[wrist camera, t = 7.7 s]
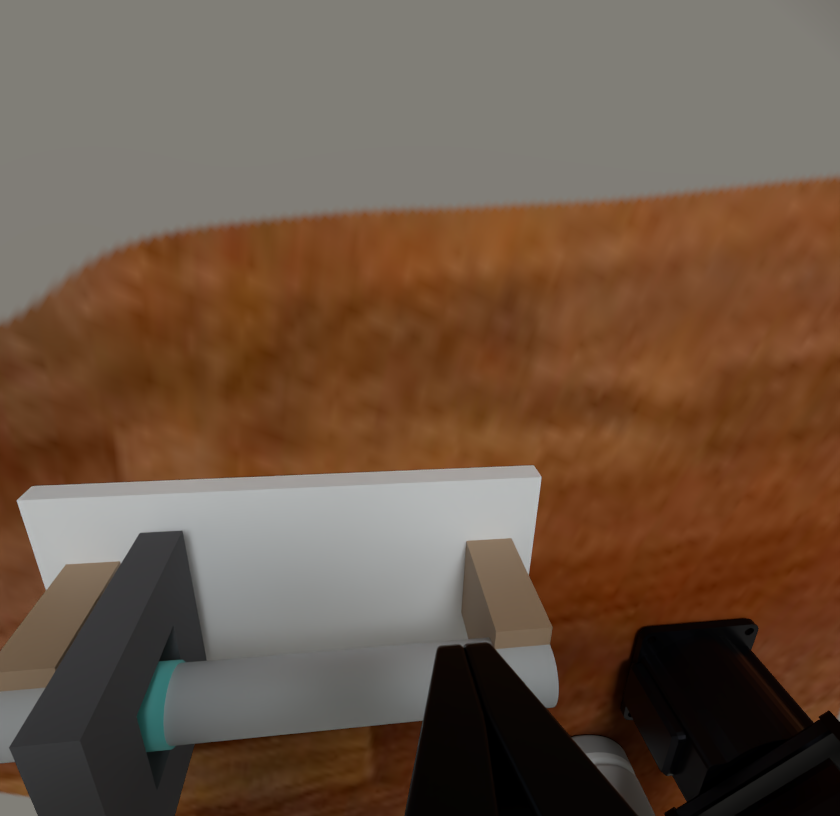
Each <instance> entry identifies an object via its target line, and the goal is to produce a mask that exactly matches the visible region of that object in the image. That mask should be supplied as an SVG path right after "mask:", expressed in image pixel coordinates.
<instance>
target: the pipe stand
mask: <svg viewBox="0 0 840 816" xmlns="http://www.w3.org/2000/svg"><path fill="white" fill-rule="evenodd" d="M541 478H542V477H541V475H540V474H539V472H538V471H537V469H536V468H535V466H534V465H530V466H505V467H481V468H457V469H433V470H409V471H385V472H361V473H337V474H313V475H289V476H265V477H241V478H216V479H192V480H168V481H144V482H120V483H96V484H72V485H48V486H32V487H31V488H30V489H28V490H27V491H26V492H25V493H24V494H23V495H22V496H21V497H20V498H19V499H18V500H17V503H18V506H19V509H20V512H21V515H22V518H23V521H24V524H25V527H26V530H27V533H28V536H29V539H30V543H31V546H32V549H33V552H34V555H35V558H36V561H37V564H38V567H39V570H40V573H41V576H42V579H43V582H44V585H45V588H46V591H45V593H44V594H43V595H42V597H41V598H40V599H39V601H38V602H37V603H36V605H35V606H34V607H33V609H32V610H31V611H30V613H29V614H28V615H27V617H26V618H25V619H24V621H23V622H22V623H21V625H20V626H19V627H18V628H17V630H16V631H15V632H14V634H13V635H12V636H11V638H10V639H9V640H8V642H7V643H6V644H5V646H4V647H3V648H2V650H1V651H0V763H8V762H15V761H14V758H13V756H12V754H11V751H10V749H9V747H10V745H11V743H12V742H13V740H14V738H15V737H16V735H17V733H18V732H19V730H20V729H21V727H22V725H23V724H24V722H25V720H26V719H27V717H28V715H29V714H30V712H31V711H32V709H33V707H34V706H35V704H36V702H37V701H38V699H39V697H40V696H41V694H42V692H43V691H44V689H45V688H46V686H47V684H48V683H49V681H50V679H51V678H52V676H53V674H54V673H55V671H56V670H57V668H58V666H59V665H60V663H61V661H62V660H63V658H64V656H65V655H66V653H67V651H68V650H69V648H70V647H71V645H72V643H73V642H74V640H75V638H76V637H77V635H78V633H79V632H80V630H81V628H82V627H83V625H84V624H85V622H86V620H87V619H88V617H89V615H90V614H91V612H92V610H93V609H94V607H95V606H96V604H97V602H98V601H99V599H100V597H101V596H102V594H103V592H104V591H105V589H106V587H107V586H108V584H109V583H110V581H111V579H112V578H113V576H114V574H115V573H116V571H117V569H118V568H119V566H120V564H121V563H122V561H123V560H124V558H125V556H126V555H127V553H128V551H129V550H130V548H131V546H132V545H133V543H134V542H135V540H136V538H137V537H138V535H139V533H146V532H165V531H183V535H184V541H185V546H186V551H187V557H188V562H189V568H190V573H191V578H192V584H193V589H194V594H195V600H196V605H197V610H198V616H199V621H200V627H201V632H202V637H203V643H204V648H205V653H206V659H207V661H197V662H185V661H184V660H170V661H159V662H158V664H157V667H156V669H155V672H154V674H153V677H152V679H151V682H150V684H149V687H148V689H147V692H146V694H145V697H144V699H143V702H142V704H141V707H140V709H139V711H138V714H137V716H136V717H137V720H138V724H139V727H140V731H141V735H142V738H143V742H144V746H145V749H146V752H153V751H163V750H171V749H173V748H174V747H175V746H176V745H186V744H196V743H206V742H216V741H226V740H235V739H245V738H255V737H265V736H275V735H285V734H295V733H305V732H315V731H324V730H334V729H344V728H354V727H364V726H374V725H384V724H394V723H403V722H413V721H423V716H424V711H425V706H426V701H427V696H428V690H429V685H430V680H431V675H432V670H433V664H434V659H435V654H436V650H437V647H438V646H440V645H449V644H461V645H462V646H464V645H465V644H466V643H473V642H488V643H490V644H491V645H492V646H493V647H494V648H495V649H496V650H497V652H498V653H499V654H500V655H501V656H502V657H503V659H504V660H505V661H506V662H507V663H508V664H509V666H510V667H511V668H512V669H513V670H514V671H515V673H516V674H517V675H518V676H519V677H520V678H521V680H522V681H523V682H524V683H525V684H526V685H527V687H528V688H529V689H530V690H531V691H532V692H533V694H534V695H535V696H536V697H537V698H538V699H539V700H540V702H541V703H542V704H543V705H544V706H545V707H546V708H552V707H555V706H556V704H557V701H558V694H559V684H558V674H557V668H556V663H555V659H554V655H553V652H552V649H551V646H550V640H551V634H552V628H553V627H552V625H551V623H550V621H549V619H548V616H547V614H546V612H545V610H544V608H543V605H542V603H541V601H540V599H539V597H538V595H537V592H536V590H535V588H534V586H533V584H532V582H531V579H530V577H529V569H530V561H531V554H532V546H533V539H534V531H535V523H536V516H537V508H538V501H539V493H540V485H541Z"/></svg>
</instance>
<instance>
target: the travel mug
mask: <svg viewBox="0 0 840 816" xmlns="http://www.w3.org/2000/svg"><path fill="white" fill-rule="evenodd" d="M571 738H572V739H573V740H574V741H575V742H576V744H577V745H578V746H579V747H580V748H581V749H582V751H583V752H584V753H585V754H586V755H587V756H588V757H589V759H590V760H591V761H592V762H593V763H594V764H595V766H596V767H597V768H598V769H599V770H600V771H601V773H602V774H603V775H604V776H605V777H606V778H607V780H608V781H609V782H610V783H611V784H612V785H613V787H614V788H615V789H616V790H617V791H618V792H619V794H620V795H621V796H622V797H623V798H624V799H625V801H626V802H627V803H628V804H629V805H630V806H631V808H632V809H633V810H634V811H635V812H636V813H637V815H638V816H655V814H654V811H653V809H652V807H651V805H650V803H649V801H648V799H647V797H646V795H645V793H644V791H643V789H642V787H641V785H640V783H639V781H638V779H637V778H636V776H635V773H634V770H633V768H632V766H631V764H630V762H629V760H628V758H627V756H626V754H625V752H624V750H623V749H622V747H621V746H620V745H619V744H617V743H616V742H614V741H613V740H611V739H609V738H606V737H603V736H597V735H579V736H574V737H571Z"/></svg>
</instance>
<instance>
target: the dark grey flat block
mask: <svg viewBox="0 0 840 816" xmlns="http://www.w3.org/2000/svg"><path fill="white" fill-rule="evenodd" d="M170 660H184V661H185V662H197V661H207V659H206V653H205V648H204V643H203V637H202V632H201V627H200V621H199V616H198V610H197V605H196V600H195V594H194V589H193V584H192V578H191V573H190V568H189V562H188V557H187V551H186V546H185V541H184V535H183V531H165V532H146V533H139V535H138V537H137V538H136V540H135V542H134V543H133V545H132V546H131V548H130V550H129V551H128V553H127V555H126V556H125V558H124V560H123V561H122V563H121V564H120V566H119V568H118V569H117V571H116V573H115V574H114V576H113V578H112V579H111V581H110V583H109V584H108V586H107V587H106V589H105V591H104V592H103V594H102V596H101V597H100V599H99V601H98V602H97V604H96V606H95V607H94V609H93V610H92V612H91V614H90V615H89V617H88V619H87V620H86V622H85V624H84V625H83V627H82V628H81V630H80V632H79V633H78V635H77V637H76V638H75V640H74V642H73V643H72V645H71V647H70V648H69V650H68V651H67V653H66V655H65V656H64V658H63V660H62V661H61V663H60V665H59V666H58V668H57V670H56V671H55V673H54V674H53V676H52V678H51V679H50V681H49V683H48V684H47V686H46V688H45V689H44V691H43V692H42V694H41V696H40V697H39V699H38V701H37V702H36V704H35V706H34V707H33V709H32V711H31V712H30V714H29V715H28V717H27V719H26V720H25V722H24V724H23V725H22V727H21V729H20V730H19V732H18V733H17V735H16V737H15V738H14V740H13V742H12V743H11V745H10V747H9V749H10V751H11V754H12V756H13V758H14V761H15V763H16V765H17V768H18V770H19V772H20V775H21V777H22V779H23V782H24V784H25V786H26V789H27V791H28V793H29V796H30V798H31V800H32V803H33V805H34V807H35V810H36V812H37V814H38V816H175V813H176V809H177V805H178V802H179V798H180V795H181V791H182V788H183V784H184V780H185V777H186V773H187V770H188V766H189V763H190V759H191V755H192V752H193V748H194V745H195V744H186V745H176V746H175V747H174V748H173V749H171V750H163V751H153V752H146V749H145V746H144V742H143V738H142V735H141V731H140V727H139V724H138V720H137V717H136V716H137V714H138V711H139V709H140V707H141V704H142V702H143V699H144V697H145V694H146V692H147V689H148V687H149V684H150V682H151V679H152V677H153V674H154V672H155V669H156V667H157V664H158V662H159V661H170Z"/></svg>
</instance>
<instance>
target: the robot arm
mask: <svg viewBox="0 0 840 816" xmlns="http://www.w3.org/2000/svg"><path fill="white" fill-rule="evenodd" d="M757 632H758V626H757V625H756V624H755V623H754V622H753V621H752V620H751V619H736V620H724V621H712V622H700V623H688V624H676V625H664V626H652V627H646V628H644V629H643V630H642V631H640V633H639V636H638V640H637V644H636V648H635V652H634V656H633V660H632V664H631V668H630V671H629V675H628V679H627V683H626V687H625V691H624V695H623V700H622V704H621V708H620V711H621V713H622V714H623V716H624V718H625V719H627V720H634V722H635V724H636V726H637V728H638V729H639V731H640V733H641V735H642V737H643V739H644V741H645V743H646V745H647V746H648V748H649V750H650V752H651V754H652V756H653V758H654V760H655V761H656V763H657V765H658V767H659V769H660V771H661V772H662V773H664V774H665V775H666V776H669V775H672V776H673V778H674V779H675V781H676V783H677V785H678V787H679V789H680V790H681V792H682V794H683V796H684V798H685V800H686V801H687V802H686V803H685V804H683V805H681V806H680V807H678V808H677V809H676V808H675V807H673V808H672V809H670V810H669V811H667V812H665V816H840V722H839V721H838V720H837V718H836V717H835V716H834V715H833V714H832V713H831V712H830V711H827V712H825V713H824V714H822V715H821V716H819V718H820V719H819V720H818V721H816V722H815V723H814V722H813V721H812V720H811V719H810V718H809V717H808V715H807V714H806V713H805V712H804V711H803V710H802V709H801V707H800V706H799V705H798V704H797V703H796V702H795V700H794V699H793V698H792V697H791V696H790V695H789V694H788V692H787V691H786V690H785V689H784V688H783V687H782V685H781V684H780V683H779V682H778V681H777V680H776V679H775V677H774V676H773V675H772V674H771V673H770V672H769V670H768V669H767V668H766V667H765V666H764V665H763V664H762V662H761V661H760V660H759V659H758V658H757V657H756V655H755V654H754V653H753V652H752V651H751V649H752V646H753V643H754V640H755V638H756V635H757ZM404 816H638V815H637V813H636V812H635V811H634V810H633V809H632V808H631V806H630V805H629V804H628V803H627V802H626V801H625V799H624V798H623V797H622V796H621V795H620V794H619V792H618V791H617V790H616V789H615V788H614V787H613V785H612V784H611V783H610V782H609V781H608V780H607V778H606V777H605V776H604V775H603V774H602V773H601V771H600V770H599V769H598V768H597V767H596V766H595V764H594V763H593V762H592V761H591V760H590V759H589V757H588V756H587V755H586V754H585V753H584V752H583V751H582V749H581V748H580V747H579V746H578V745H577V744H576V742H575V741H574V740H573V739H572V738H571V737H570V735H569V734H568V733H567V732H566V731H565V730H564V728H563V727H562V726H561V725H560V724H559V723H558V721H557V720H556V719H555V718H554V717H553V716H552V714H551V713H550V712H549V711H548V710H547V709H546V707H545V706H544V705H543V704H542V703H541V702H540V700H539V699H538V698H537V697H536V696H535V695H534V694H533V692H532V691H531V690H530V689H529V688H528V687H527V685H526V684H525V683H524V682H523V681H522V680H521V678H520V677H519V676H518V675H517V674H516V673H515V671H514V670H513V669H512V668H511V667H510V666H509V664H508V663H507V662H506V661H505V660H504V659H503V657H502V656H501V655H500V654H499V653H498V652H497V650H496V649H495V648H494V647H493V646H492V645H491V644H490V643H488V642H473V643H466V644H465V645H464V646H462V645H461V644H449V645H440V646H438V647H437V650H436V654H435V659H434V664H433V670H432V675H431V680H430V685H429V690H428V696H427V701H426V706H425V711H424V716H423V722H422V727H421V732H420V737H419V743H418V748H417V753H416V758H415V763H414V769H413V774H412V779H411V784H410V789H409V795H408V800H407V805H406V810H405V815H404Z"/></svg>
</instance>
